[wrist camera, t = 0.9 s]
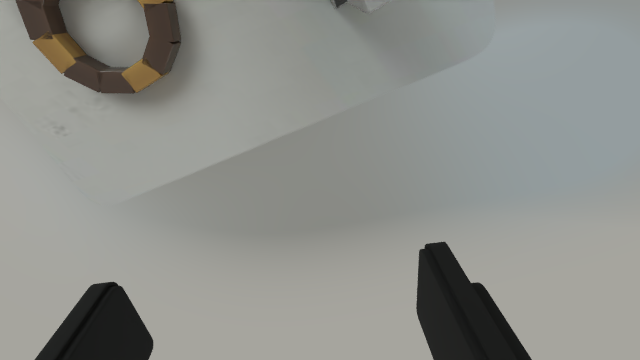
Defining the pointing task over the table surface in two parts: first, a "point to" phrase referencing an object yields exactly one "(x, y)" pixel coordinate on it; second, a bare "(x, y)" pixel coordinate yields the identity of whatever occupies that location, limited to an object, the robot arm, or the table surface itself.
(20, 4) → the ring
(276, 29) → the table surface
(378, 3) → the vintage mobile phone
